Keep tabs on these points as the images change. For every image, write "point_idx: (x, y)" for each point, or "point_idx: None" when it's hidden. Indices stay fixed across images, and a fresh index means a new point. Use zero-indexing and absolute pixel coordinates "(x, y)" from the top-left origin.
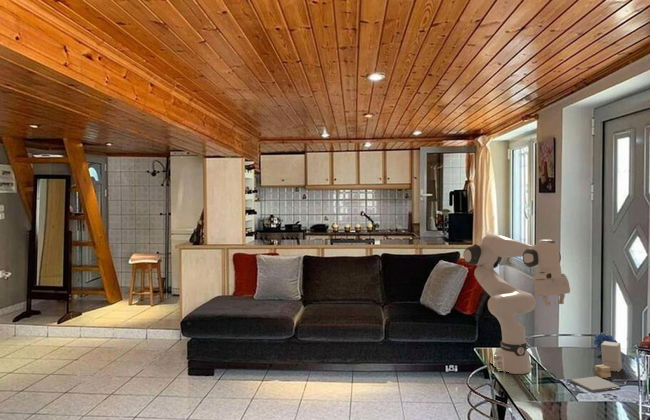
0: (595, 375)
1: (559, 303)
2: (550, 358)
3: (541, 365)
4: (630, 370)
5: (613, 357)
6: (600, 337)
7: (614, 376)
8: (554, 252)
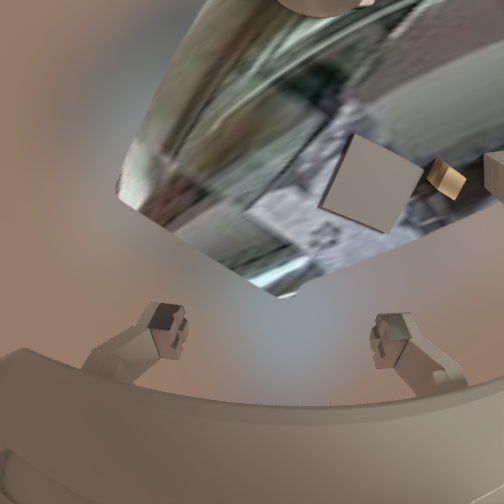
0: (436, 158)
1: (376, 324)
2: (475, 18)
3: (412, 14)
4: None
5: (501, 193)
6: None
7: None
8: None
